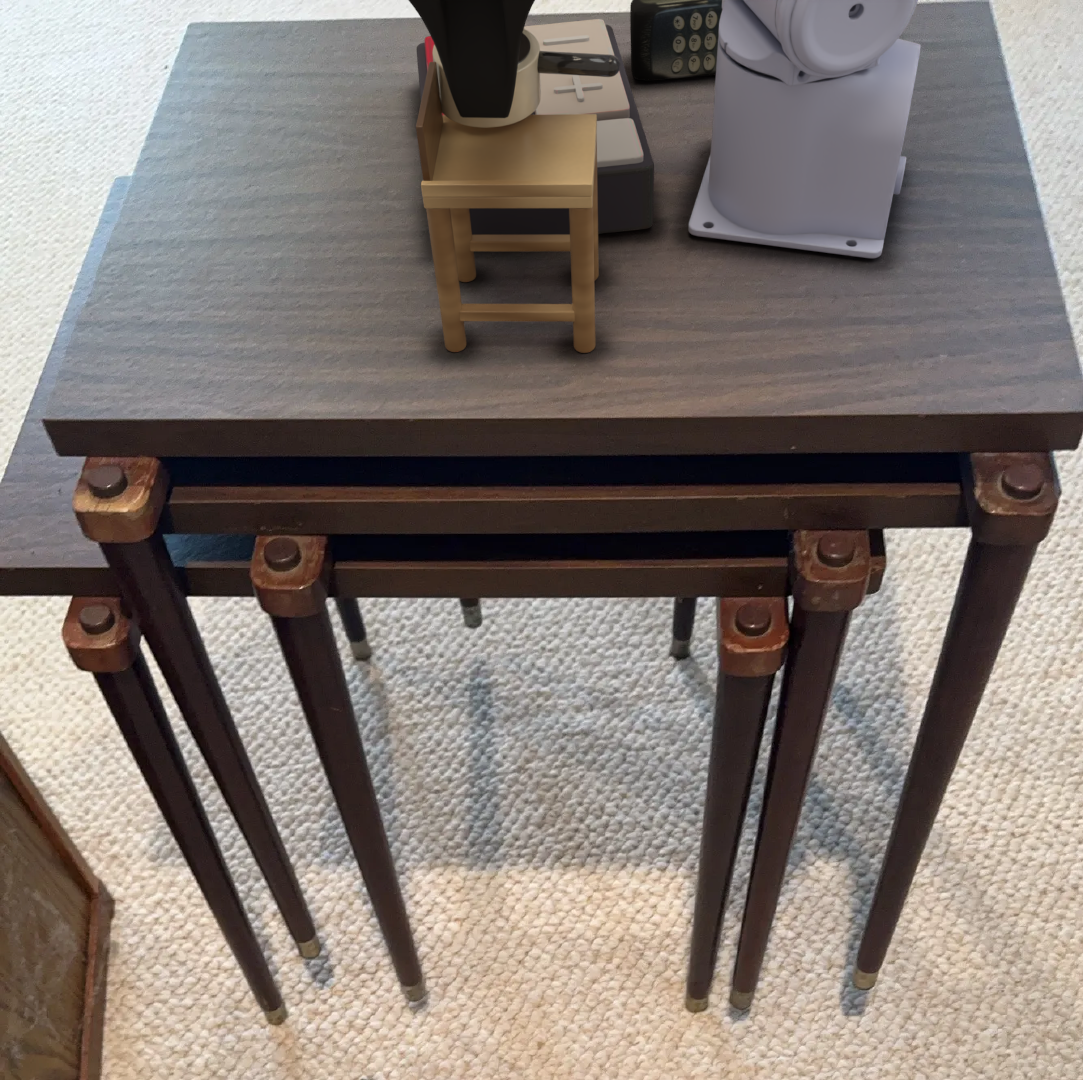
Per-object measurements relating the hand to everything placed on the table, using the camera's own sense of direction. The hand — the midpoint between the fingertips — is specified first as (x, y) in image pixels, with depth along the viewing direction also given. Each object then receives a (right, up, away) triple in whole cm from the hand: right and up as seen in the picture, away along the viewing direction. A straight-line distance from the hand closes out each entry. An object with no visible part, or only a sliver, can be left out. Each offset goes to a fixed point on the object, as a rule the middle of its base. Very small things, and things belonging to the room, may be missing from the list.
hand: (491, 75), depth 55 cm
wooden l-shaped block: (+1, -4, 0) cm, 4 cm away
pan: (+2, -1, +1) cm, 2 cm away
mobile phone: (+15, +7, +19) cm, 25 cm away
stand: (+1, -9, +6) cm, 11 cm away
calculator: (+2, +1, +14) cm, 14 cm away
